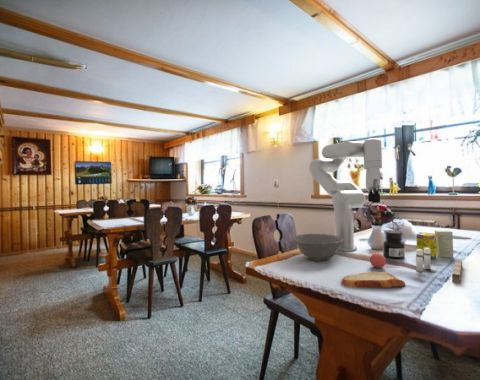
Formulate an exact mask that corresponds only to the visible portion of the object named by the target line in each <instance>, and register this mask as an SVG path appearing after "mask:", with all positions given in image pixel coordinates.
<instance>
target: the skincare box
mask: <svg viewBox="0 0 480 380" xmlns="http://www.w3.org/2000/svg"><path fill="white" fill-rule="evenodd" d="M434 235H436V258H449V259H450V258H451V259H452V258H453V259H454V241H453V236H454V235H453V231H451V230H445V229H444V230H443V229H442V230H439V229H436V230H434Z"/></svg>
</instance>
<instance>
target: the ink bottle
mask: <svg viewBox="0 0 480 380" xmlns="http://www.w3.org/2000/svg"><path fill="white" fill-rule="evenodd" d="M402 233H403V232H402V231H400V230H399V231H397V230H386V231H385V241H383V242H382V250H383V252H382V253H383V254H382V255H383V256H384V257H385V258H386V259H387V258H388V259H392V258H394V260H402V259H404V258H405V254H406V253H405V249H406V247H405V243H404V242H403V241H402V240H403V234H402Z"/></svg>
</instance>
